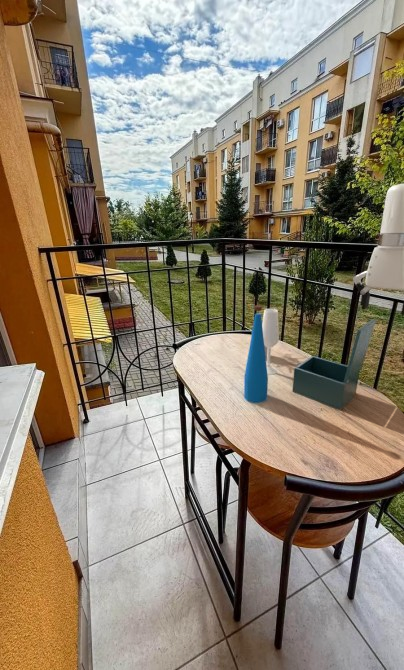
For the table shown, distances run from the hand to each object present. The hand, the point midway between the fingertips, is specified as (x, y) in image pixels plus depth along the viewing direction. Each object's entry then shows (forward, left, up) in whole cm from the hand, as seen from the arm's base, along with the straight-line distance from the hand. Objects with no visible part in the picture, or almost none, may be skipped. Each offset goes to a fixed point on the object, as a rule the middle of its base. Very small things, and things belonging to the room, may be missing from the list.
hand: (383, 310), depth 73 cm
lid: (+4, 0, -13) cm, 13 cm away
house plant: (+43, -12, -30) cm, 54 cm away
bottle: (+27, +17, -30) cm, 44 cm away
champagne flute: (+34, -1, -30) cm, 46 cm away
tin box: (+12, 0, -30) cm, 32 cm away
